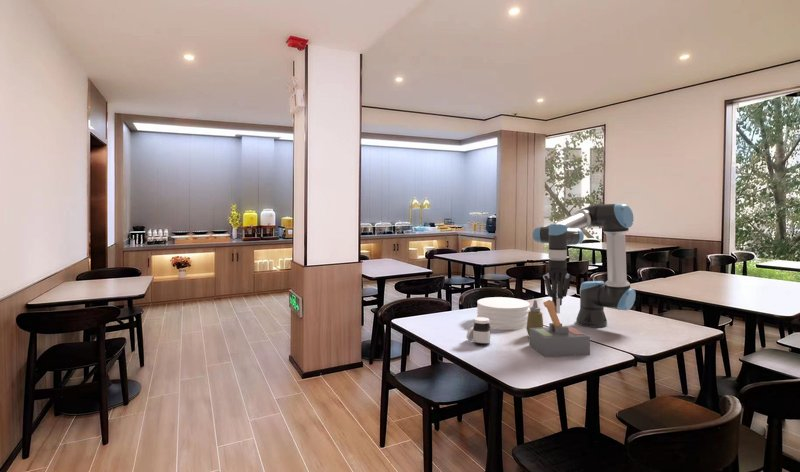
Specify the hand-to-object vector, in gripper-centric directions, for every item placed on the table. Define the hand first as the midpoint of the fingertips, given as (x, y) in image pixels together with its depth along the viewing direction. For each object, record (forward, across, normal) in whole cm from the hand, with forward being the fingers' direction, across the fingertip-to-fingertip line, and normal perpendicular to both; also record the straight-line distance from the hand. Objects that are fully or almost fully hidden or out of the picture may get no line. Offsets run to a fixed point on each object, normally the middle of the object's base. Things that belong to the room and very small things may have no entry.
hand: (556, 312), depth 185 cm
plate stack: (+17, +7, -48) cm, 51 cm away
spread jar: (+17, +31, -16) cm, 38 cm away
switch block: (+17, -1, 0) cm, 17 cm away
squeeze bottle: (+17, +1, -20) cm, 27 cm away
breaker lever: (+8, -2, 0) cm, 9 cm away
